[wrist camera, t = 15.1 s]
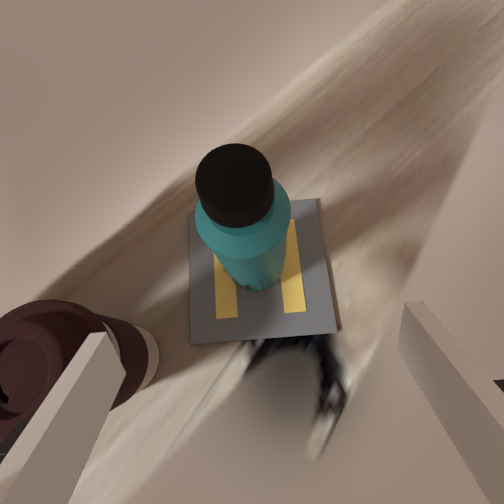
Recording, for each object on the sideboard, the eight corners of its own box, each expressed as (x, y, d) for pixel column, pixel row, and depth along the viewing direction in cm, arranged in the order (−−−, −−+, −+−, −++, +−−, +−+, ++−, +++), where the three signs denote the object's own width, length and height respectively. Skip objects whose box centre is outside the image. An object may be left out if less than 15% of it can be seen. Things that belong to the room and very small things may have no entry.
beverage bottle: (287, 243, 33) (304, 117, 14) (282, 299, 32) (295, 241, 12) (232, 238, 34) (180, 112, 15) (224, 293, 32) (153, 228, 13)
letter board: (191, 344, 32) (190, 344, 31) (189, 213, 36) (188, 211, 36) (336, 332, 31) (337, 332, 30) (315, 200, 35) (316, 197, 35)
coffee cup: (168, 306, 33) (87, 283, 19) (177, 399, 30) (89, 455, 16) (86, 322, 33) (-57, 311, 19) (86, 416, 30) (-82, 487, 16)
